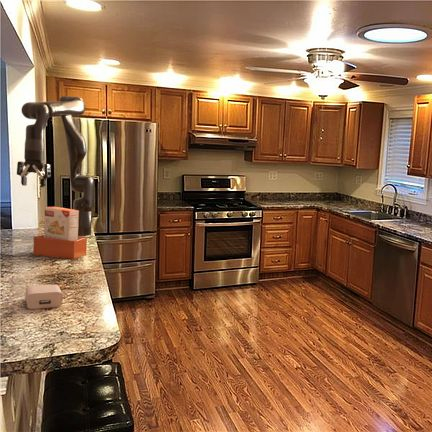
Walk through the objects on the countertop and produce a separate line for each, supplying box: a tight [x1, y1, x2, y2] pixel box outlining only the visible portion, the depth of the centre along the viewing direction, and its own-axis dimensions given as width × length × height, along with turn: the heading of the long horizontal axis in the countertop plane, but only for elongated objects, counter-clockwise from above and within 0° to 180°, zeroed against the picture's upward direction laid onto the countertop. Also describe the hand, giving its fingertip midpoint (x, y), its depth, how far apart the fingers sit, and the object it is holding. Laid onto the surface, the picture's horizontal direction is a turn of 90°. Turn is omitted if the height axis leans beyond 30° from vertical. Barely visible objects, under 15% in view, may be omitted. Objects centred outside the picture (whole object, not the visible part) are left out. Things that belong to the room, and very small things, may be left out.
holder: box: [32, 233, 88, 260], centre depth 207 cm, size 11×19×8 cm, turn 85°
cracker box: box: [43, 206, 79, 241], centre depth 206 cm, size 14×6×21 cm, turn 71°
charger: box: [25, 283, 63, 310], centre depth 145 cm, size 5×9×15 cm
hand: (33, 186), depth 204 cm, fingers open, 8 cm apart
